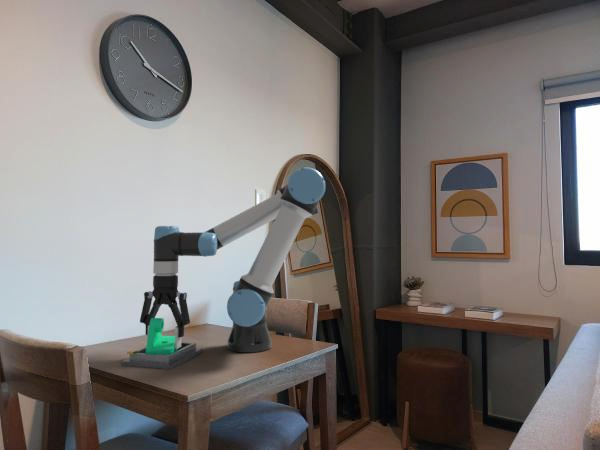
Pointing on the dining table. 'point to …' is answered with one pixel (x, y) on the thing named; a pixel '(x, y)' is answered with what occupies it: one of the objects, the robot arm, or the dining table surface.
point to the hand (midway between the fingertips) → (164, 346)
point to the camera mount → (159, 339)
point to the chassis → (162, 357)
